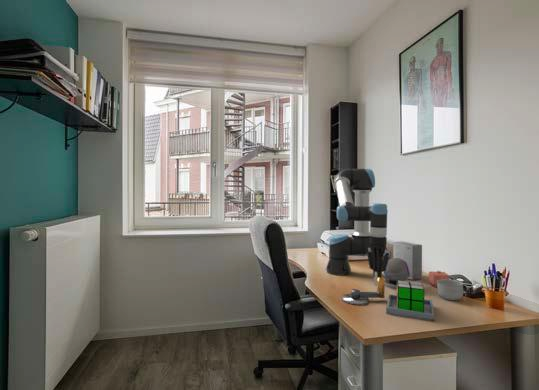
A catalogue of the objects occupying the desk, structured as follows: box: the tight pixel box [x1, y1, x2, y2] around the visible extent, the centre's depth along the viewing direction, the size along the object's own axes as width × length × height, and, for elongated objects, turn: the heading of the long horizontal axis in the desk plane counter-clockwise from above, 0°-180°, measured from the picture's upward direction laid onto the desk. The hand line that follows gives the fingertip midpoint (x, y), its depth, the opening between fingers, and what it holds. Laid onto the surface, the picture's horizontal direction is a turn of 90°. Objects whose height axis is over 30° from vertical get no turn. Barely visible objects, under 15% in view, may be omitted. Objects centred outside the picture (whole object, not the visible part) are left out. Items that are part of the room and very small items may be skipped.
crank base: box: [341, 293, 370, 306], centre depth 141 cm, size 12×12×1 cm
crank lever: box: [350, 276, 386, 299], centre depth 141 cm, size 16×4×9 cm, turn 91°
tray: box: [385, 294, 435, 322], centre depth 130 cm, size 18×18×2 cm
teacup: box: [437, 279, 464, 301], centre depth 145 cm, size 14×11×8 cm
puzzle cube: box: [396, 280, 425, 313], centre depth 130 cm, size 10×10×10 cm
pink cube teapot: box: [428, 270, 451, 289], centre depth 162 cm, size 8×12×8 cm, turn 173°
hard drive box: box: [392, 240, 423, 281], centre depth 181 cm, size 16×8×20 cm, turn 22°
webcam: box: [383, 257, 409, 290], centre depth 163 cm, size 13×13×15 cm
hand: (377, 284), depth 145 cm, fingers closed
